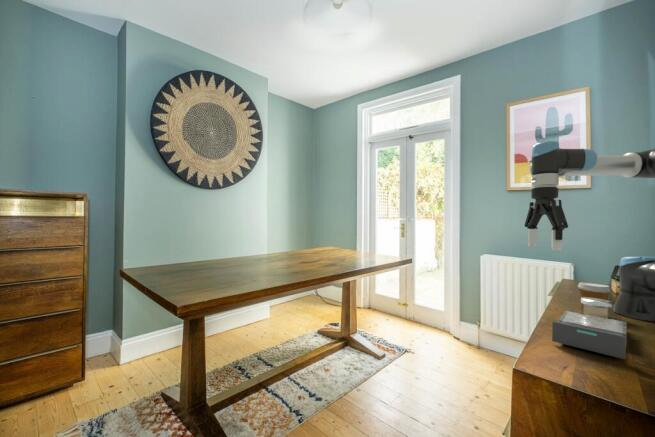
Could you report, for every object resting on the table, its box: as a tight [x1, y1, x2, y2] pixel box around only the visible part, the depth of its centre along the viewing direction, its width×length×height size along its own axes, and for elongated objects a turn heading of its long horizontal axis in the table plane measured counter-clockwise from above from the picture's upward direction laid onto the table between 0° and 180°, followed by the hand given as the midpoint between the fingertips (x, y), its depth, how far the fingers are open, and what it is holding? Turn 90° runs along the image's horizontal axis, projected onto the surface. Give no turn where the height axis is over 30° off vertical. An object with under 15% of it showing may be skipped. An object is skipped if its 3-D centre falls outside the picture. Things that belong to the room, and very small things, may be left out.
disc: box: [580, 297, 613, 309], centre depth 102 cm, size 8×8×2 cm
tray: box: [551, 320, 627, 360], centre depth 84 cm, size 14×15×6 cm
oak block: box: [584, 304, 609, 319], centre depth 102 cm, size 6×6×7 cm
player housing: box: [558, 310, 627, 337], centre depth 92 cm, size 15×15×4 cm
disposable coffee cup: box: [577, 281, 612, 314], centre depth 113 cm, size 10×10×12 cm
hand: (543, 248), depth 101 cm, fingers open, 13 cm apart
